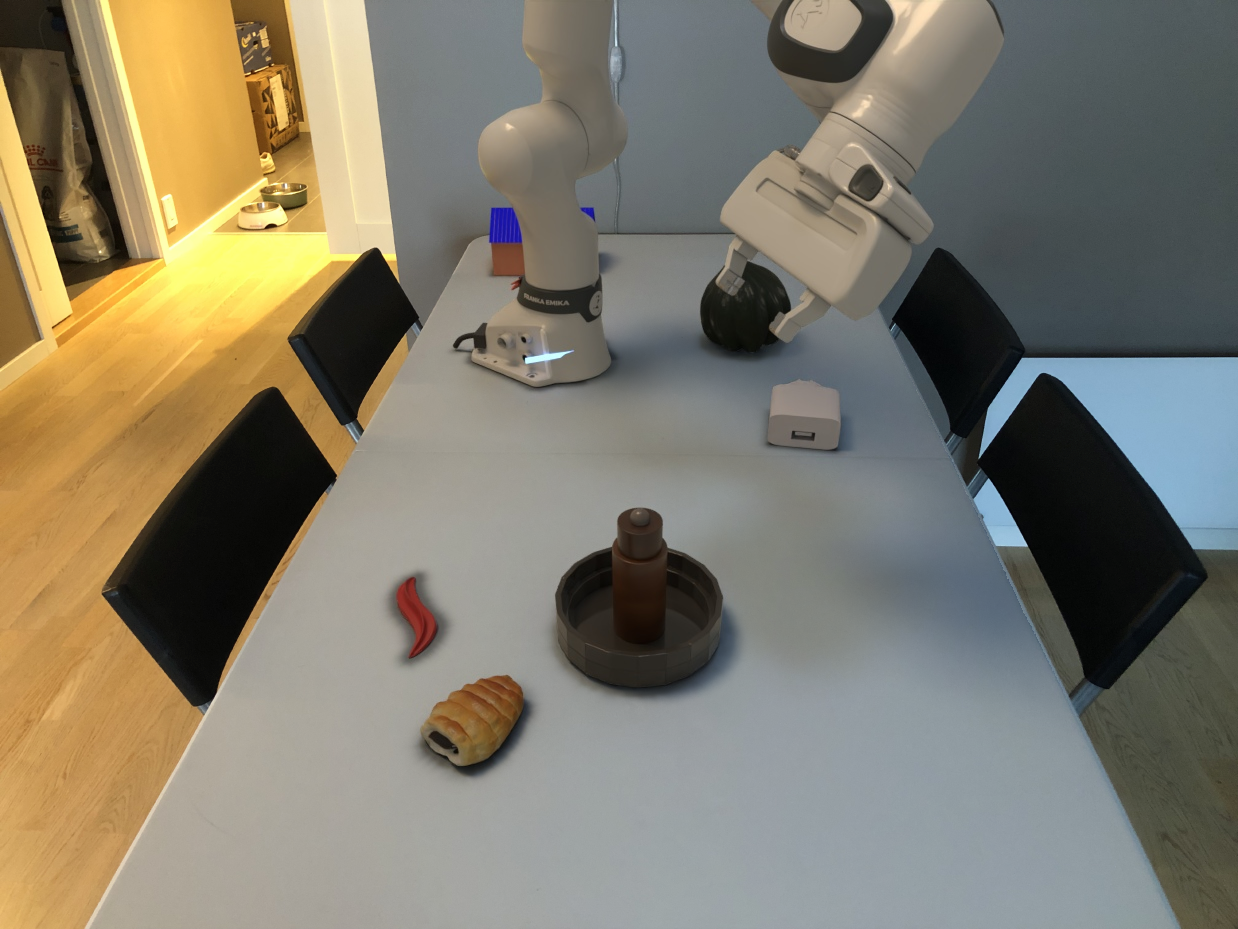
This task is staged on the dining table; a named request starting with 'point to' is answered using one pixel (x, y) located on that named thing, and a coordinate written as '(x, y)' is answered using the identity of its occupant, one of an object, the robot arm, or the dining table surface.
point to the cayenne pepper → (416, 616)
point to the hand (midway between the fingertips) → (749, 312)
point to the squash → (744, 310)
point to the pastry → (474, 720)
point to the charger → (804, 416)
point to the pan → (638, 664)
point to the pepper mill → (639, 576)
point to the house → (510, 241)
